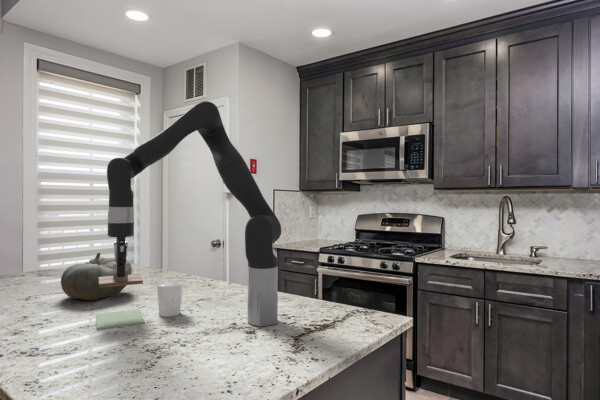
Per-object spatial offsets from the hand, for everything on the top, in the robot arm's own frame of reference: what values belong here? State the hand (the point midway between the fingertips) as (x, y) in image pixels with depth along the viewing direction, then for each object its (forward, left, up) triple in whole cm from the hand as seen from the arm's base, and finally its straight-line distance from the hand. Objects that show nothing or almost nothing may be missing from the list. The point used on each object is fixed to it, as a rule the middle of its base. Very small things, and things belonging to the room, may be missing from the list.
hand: (120, 275), depth 120 cm
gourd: (+36, +6, -14) cm, 39 cm away
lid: (0, 0, -2) cm, 2 cm away
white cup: (-1, -15, -14) cm, 21 cm away
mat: (0, 0, -14) cm, 14 cm away
